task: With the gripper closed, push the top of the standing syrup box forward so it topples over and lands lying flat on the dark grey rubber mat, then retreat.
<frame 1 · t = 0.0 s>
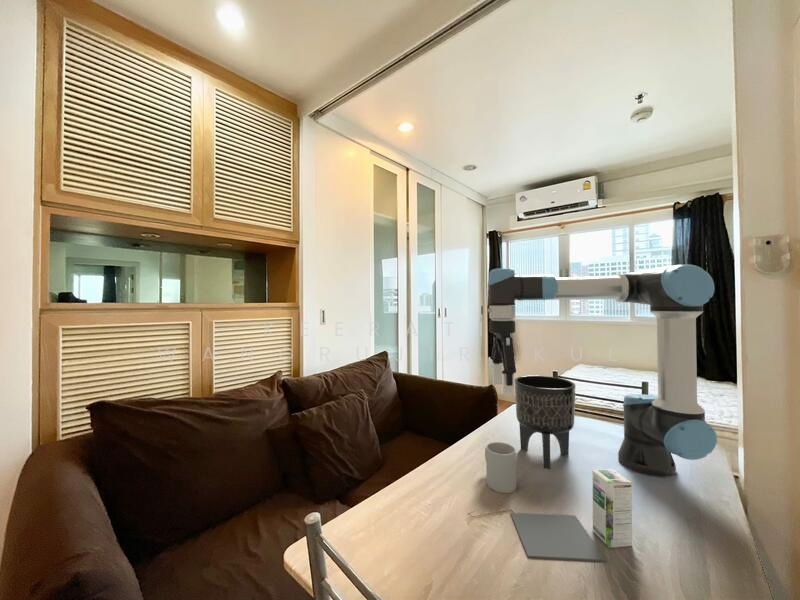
hand: (502, 389, 97), 28 cm above the table, fingers open, 13 cm apart
syrup box: (612, 539, 74), on the table
mat: (553, 535, 75), on the table
planter: (544, 457, 113), on the table
mug: (497, 482, 97), on the table
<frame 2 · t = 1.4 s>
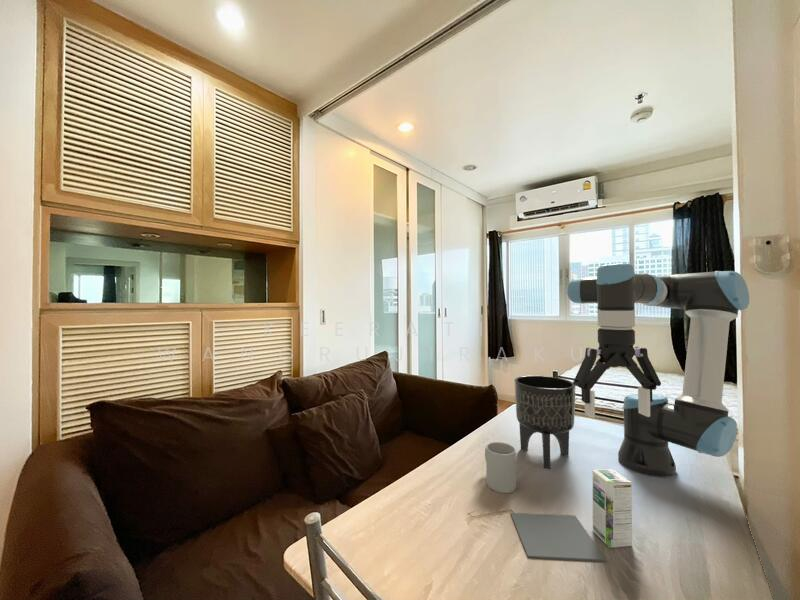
hand: (617, 415, 78), 27 cm above the table, fingers open, 13 cm apart
nothing on the table moved.
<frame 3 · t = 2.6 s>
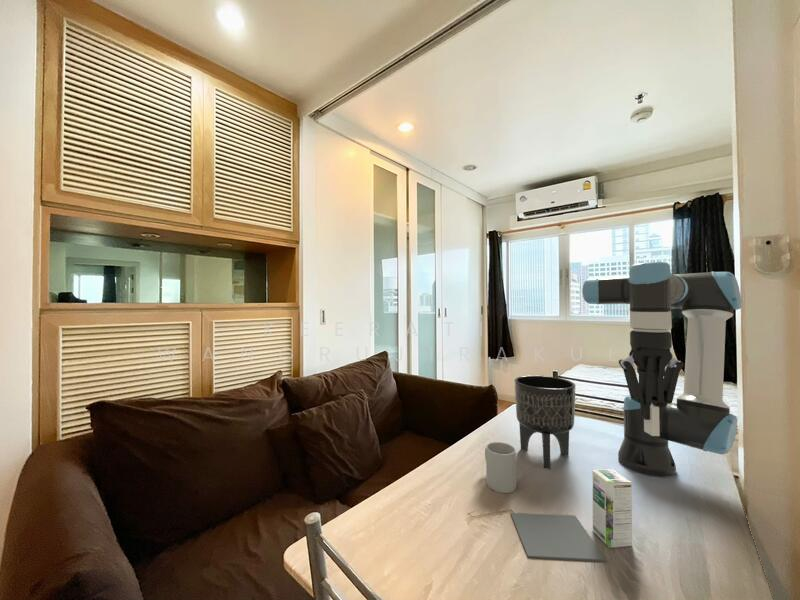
hand: (651, 433, 73), 24 cm above the table, fingers closed
nothing on the table moved.
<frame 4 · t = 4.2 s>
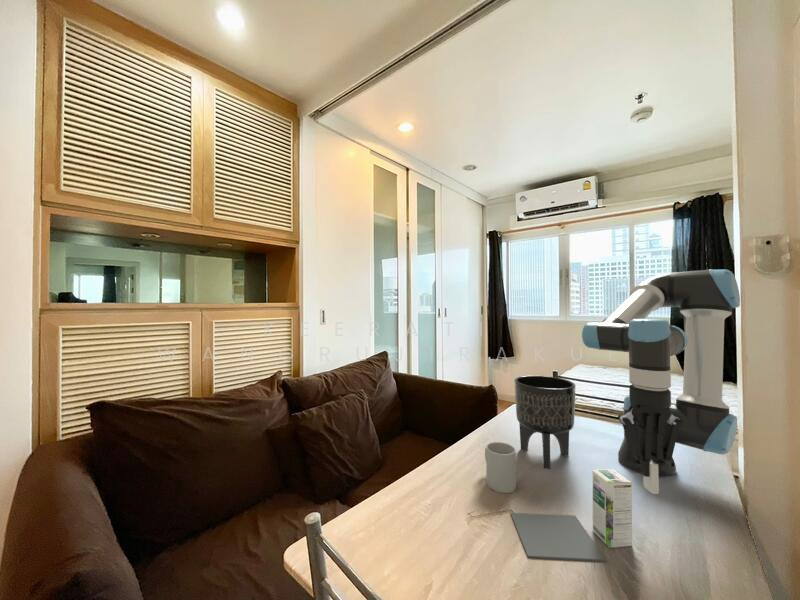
hand: (650, 489, 73), 11 cm above the table, fingers closed
nothing on the table moved.
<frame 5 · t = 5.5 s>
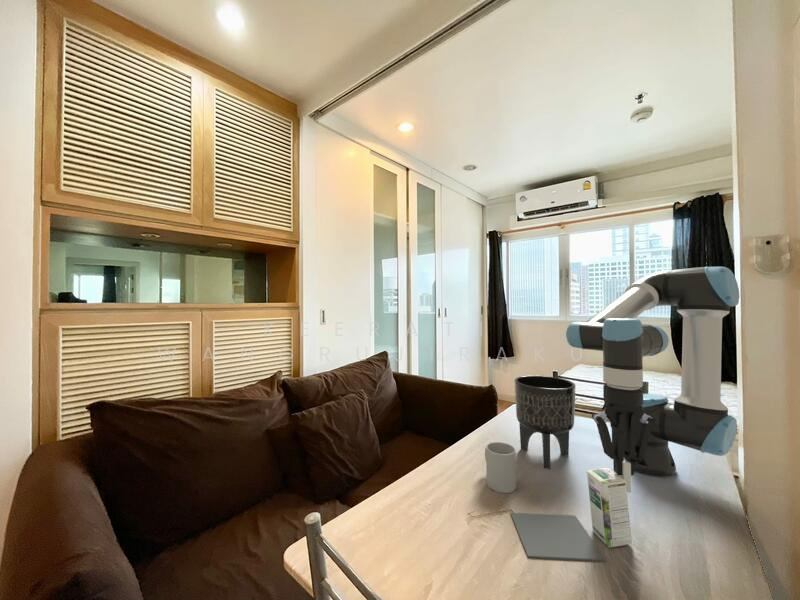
hand: (624, 488, 73), 12 cm above the table, fingers closed
syrup box: (612, 538, 74), on the table, touching gripper
everything else where it was.
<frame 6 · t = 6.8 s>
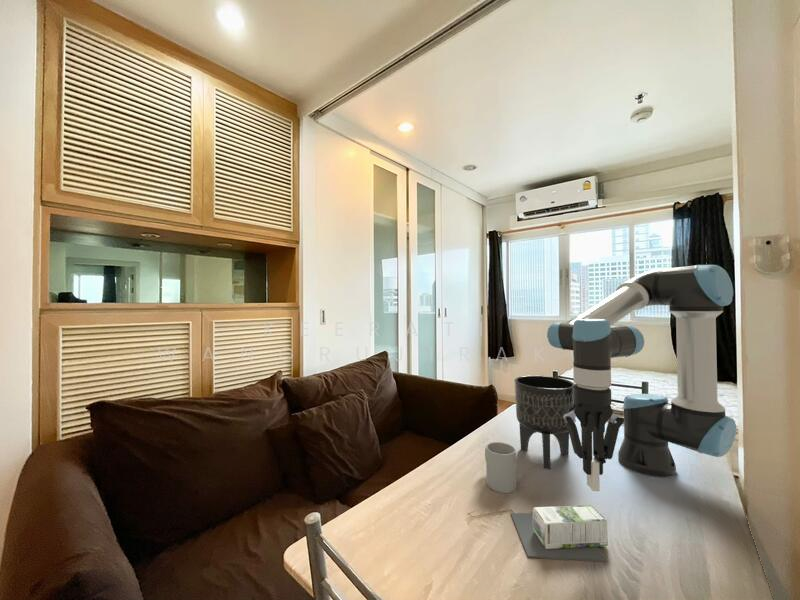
hand: (593, 487, 74), 12 cm above the table, fingers closed
syrup box: (600, 524, 74), point 3 cm above the table, touching mat
everything else where it was.
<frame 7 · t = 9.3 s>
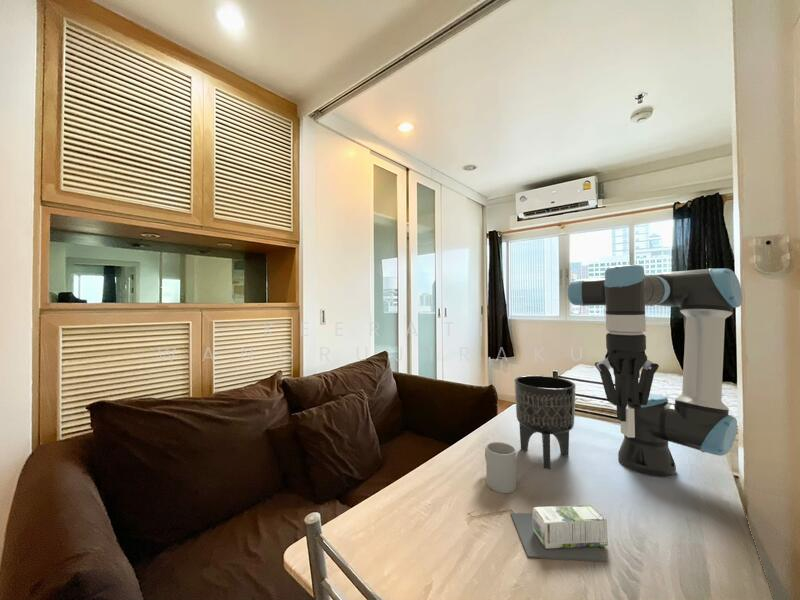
hand: (627, 434, 74), 24 cm above the table, fingers closed
nothing on the table moved.
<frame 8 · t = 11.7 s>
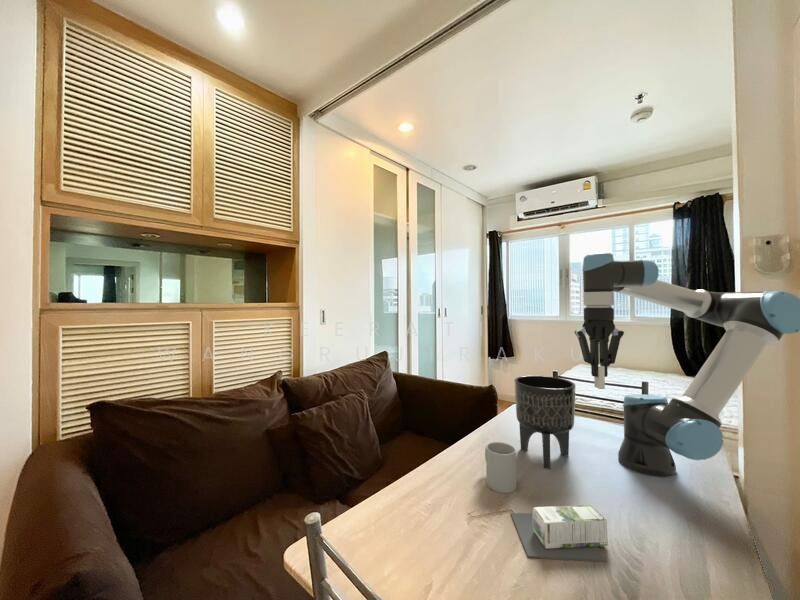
hand: (599, 387, 93), 29 cm above the table, fingers closed
nothing on the table moved.
at the end: syrup box tilted 90°; syrup box inside the target area (7.3 cm from its centre), point 3.4 cm above the table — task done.
